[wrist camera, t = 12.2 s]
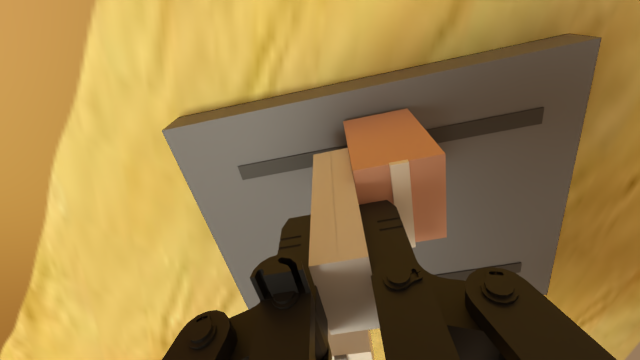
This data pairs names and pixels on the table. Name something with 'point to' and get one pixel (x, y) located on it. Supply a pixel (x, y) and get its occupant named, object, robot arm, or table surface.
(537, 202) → the mixer board
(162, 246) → the table surface
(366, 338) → the fader
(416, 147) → the fader
